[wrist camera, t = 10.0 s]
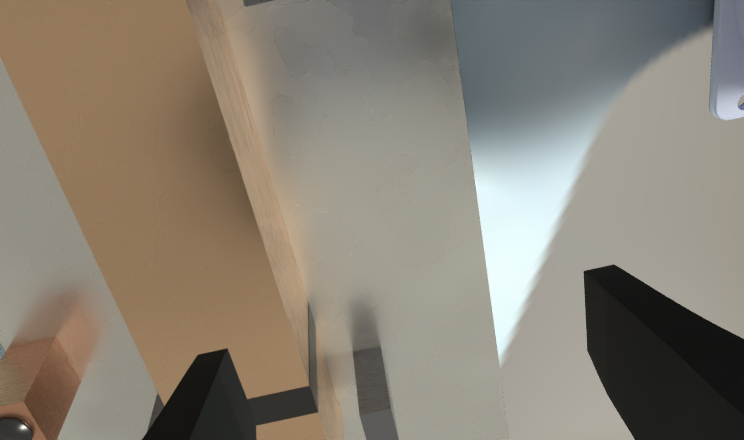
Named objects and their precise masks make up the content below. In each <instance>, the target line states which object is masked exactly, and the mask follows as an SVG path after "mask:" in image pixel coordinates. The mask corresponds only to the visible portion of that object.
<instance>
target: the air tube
mask: <svg viewBox="0 0 744 440" xmlns="http://www.w3.org/2000/svg"><path fill="white" fill-rule="evenodd" d="M0 58H1V60H2V62H3V64H4V66H5V69H6V71H7V73H8V75H9V77H10V79H11V81H12V83H13V86H14V88H15V90H16V92H17V94H18V96H19V98H20V100H21V103H22V105H23V107H24V109H25V111H26V113H27V115H28V117H29V120H30V122H31V124H32V126H33V128H34V130H35V132H36V134H37V137H38V139H39V141H40V143H41V145H42V147H43V149H44V151H45V154H46V156H47V158H48V160H49V162H50V164H51V166H52V168H53V171H54V173H55V175H56V177H57V179H58V181H59V183H60V185H61V188H62V190H63V192H64V194H65V196H66V198H67V200H68V202H69V205H70V207H71V209H72V211H73V213H74V215H75V217H76V219H77V222H78V224H79V226H80V228H81V230H82V232H83V234H84V236H85V239H86V241H87V243H88V245H89V247H90V249H91V251H92V253H93V256H94V258H95V260H96V262H97V264H98V266H99V268H100V270H101V273H102V275H103V277H104V279H105V281H106V283H107V285H108V287H109V290H110V292H111V294H112V296H113V298H114V300H115V302H116V304H117V307H118V309H119V311H120V313H121V315H122V317H123V319H124V321H125V324H126V326H127V328H128V330H129V332H130V334H131V336H132V338H133V341H134V343H135V345H136V347H137V349H138V351H139V353H140V355H141V358H142V360H143V362H144V364H145V366H146V368H147V370H148V372H149V375H150V377H151V379H152V381H153V383H154V385H155V387H156V389H157V392H158V394H159V396H160V398H161V400H162V402H163V404H164V406H165V404H166V403H167V401H168V400H169V398H170V397H171V395H172V393H173V392H174V390H175V389H176V387H177V386H178V384H179V382H180V381H181V379H182V378H183V376H184V375H185V373H186V372H187V370H188V368H189V367H190V365H191V364H192V362H193V361H194V360H195V358H196V357H197V355H199V354H203V353H208V352H212V351H217V350H222V349H226V348H228V351H229V353H230V356H231V359H232V361H233V364H234V366H235V369H236V372H237V374H238V377H239V379H240V382H241V384H242V387H243V390H244V392H245V395H246V397H247V400H248V403H249V405H250V408H251V410H252V413H253V415H254V418H255V421H256V439H257V440H345V437H344V424H343V419H342V415H341V412H340V409H339V405H338V402H337V398H336V395H335V392H334V388H333V385H332V382H331V378H330V375H329V372H328V368H327V365H326V362H325V358H324V355H323V351H322V348H321V345H320V341H319V338H318V335H317V331H316V326H315V322H314V319H313V316H312V312H311V309H310V305H309V302H308V301H307V298H306V294H305V291H304V288H303V284H302V281H301V278H300V274H299V271H298V268H297V264H296V261H295V258H294V254H293V251H292V247H291V244H290V241H289V237H288V234H287V231H286V227H285V224H284V221H283V217H282V214H281V211H280V207H279V204H278V200H277V197H276V194H275V190H274V187H273V184H272V180H271V177H270V174H269V170H268V167H267V164H266V160H265V157H264V153H263V150H262V147H261V143H260V140H259V137H258V133H257V130H256V127H255V123H254V120H253V117H252V113H251V110H250V106H249V103H248V100H247V96H246V93H245V90H244V86H243V83H242V80H241V76H240V73H239V70H238V66H237V63H236V59H235V56H234V53H233V49H232V46H231V43H230V39H229V36H228V33H227V29H226V26H225V23H224V19H223V16H222V12H221V9H220V6H219V2H218V0H0Z"/></svg>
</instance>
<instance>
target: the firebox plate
mask: <svg viewBox="0 0 744 440" xmlns="http://www.w3.org/2000/svg"><path fill="white" fill-rule="evenodd" d="M218 2H219V6H220V9H221V12H222V16H223V19H224V23H225V26H226V29H227V33H228V36H229V39H230V43H231V46H232V49H233V53H234V56H235V59H236V63H237V66H238V70H239V73H240V76H241V80H242V83H243V86H244V90H245V93H246V96H247V100H248V103H249V106H250V110H251V113H252V117H253V120H254V123H255V127H256V130H257V133H258V137H259V140H260V143H261V147H262V150H263V153H264V157H265V160H266V164H267V167H268V170H269V174H270V177H271V180H272V184H273V187H274V190H275V194H276V197H277V200H278V204H279V207H280V211H281V214H282V217H283V221H284V224H285V227H286V231H287V234H288V237H289V241H290V244H291V247H292V251H293V254H294V258H295V261H296V264H297V268H298V271H299V274H300V278H301V281H302V284H303V288H304V291H305V294H306V298H307V301H308V302H309V305H310V309H311V312H312V316H313V319H314V322H315V326H316V331H317V335H318V338H319V341H320V345H321V348H322V351H323V355H324V358H325V362H326V365H327V368H328V372H329V375H330V378H331V382H332V385H333V388H334V392H335V395H336V398H337V402H338V405H339V409H340V412H341V415H342V419H343V424H344V437H345V440H501V439H506V438H509V435H508V427H507V420H506V413H505V405H504V397H503V390H502V383H501V375H500V367H499V360H498V352H497V345H496V337H495V330H494V322H493V315H492V307H491V300H490V292H489V285H488V277H487V270H486V262H485V255H484V247H483V240H482V232H481V225H480V217H479V210H478V202H477V195H476V187H475V180H474V172H473V165H472V157H471V150H470V142H469V135H468V127H467V120H466V112H465V105H464V97H463V90H462V82H461V75H460V67H459V60H458V52H457V45H456V37H455V30H454V22H453V15H452V7H451V0H218ZM0 344H1V346H2V347H3V349H4V351H5V354H4V356H3V357H2V359H1V361H0V440H57V439H58V440H142V439H143V437H144V436H145V434H146V433H147V431H148V430H149V428H150V427H151V425H152V424H153V422H154V421H155V419H156V418H157V416H158V415H159V413H160V412H161V410H162V409H163V407H164V404H163V402H162V400H161V398H160V396H159V394H158V392H157V389H156V387H155V385H154V383H153V381H152V379H151V377H150V375H149V372H148V370H147V368H146V366H145V364H144V362H143V360H142V358H141V355H140V353H139V351H138V349H137V347H136V345H135V343H134V341H133V338H132V336H131V334H130V332H129V330H128V328H127V326H126V324H125V321H124V319H123V317H122V315H121V313H120V311H119V309H118V307H117V304H116V302H115V300H114V298H113V296H112V294H111V292H110V290H109V287H108V285H107V283H106V281H105V279H104V277H103V275H102V273H101V270H100V268H99V266H98V264H97V262H96V260H95V258H94V256H93V253H92V251H91V249H90V247H89V245H88V243H87V241H86V239H85V236H84V234H83V232H82V230H81V228H80V226H79V224H78V222H77V219H76V217H75V215H74V213H73V211H72V209H71V207H70V205H69V202H68V200H67V198H66V196H65V194H64V192H63V190H62V188H61V185H60V183H59V181H58V179H57V177H56V175H55V173H54V171H53V168H52V166H51V164H50V162H49V160H48V158H47V156H46V154H45V151H44V149H43V147H42V145H41V143H40V141H39V139H38V137H37V134H36V132H35V130H34V128H33V126H32V124H31V122H30V120H29V117H28V115H27V113H26V111H25V109H24V107H23V105H22V103H21V100H20V98H19V96H18V94H17V92H16V90H15V88H14V86H13V83H12V81H11V79H10V77H9V75H8V73H7V71H6V69H5V66H4V64H3V62H2V60H1V58H0Z"/></svg>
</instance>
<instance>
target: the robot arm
mask: <svg viewBox="0 0 744 440" xmlns="http://www.w3.org/2000/svg"><path fill="white" fill-rule="evenodd" d="M712 43H713V44H712V61H711V79H710V100H709V108H710V112H711V113H712V114H713V115H714V116H716V117H717V118H719V119H721V120H731V119H736V118H740V117H744V103H743V104H742V105H741V106H738V102H739V100H740V99H741V97H742V96H744V0H715V5H714V23H713V42H712ZM584 287H585V308H586V329H587V350H588V353H589V355H590V357H591V359H592V361H593V364H594V366H595V369H596V370H597V373H598V375H599V378H600V379H601V382H602V384H603V386H604V388H605V390H606V392H607V395H608V396H609V398H610V399H611V401H612V403H613V405H614V406H615V408H616V409H617V411H618V412H619V414H620V416H621V418H622V419H623V421H624V422H625V424H626V426H627V427H628V429H629V430H630V432H631V433H632V435H633V437H634V439H635V440H744V339H742V338H740V337H739V336H737V335H735V334H733V333H731V332H729V331H727V330H725V329H723V328H721V327H719V326H717V325H715V324H713V323H712V322H710V321H708V320H706V319H704V318H702V317H701V316H699V315H697V314H695V313H693V312H691V311H690V310H688V309H686V308H685V307H683V306H681V305H680V304H678V303H676V302H674V301H673V300H671V299H670V298H668V297H666V296H665V295H663V294H661V293H660V292H658V291H656V290H655V289H653V288H652V287H650V286H648V285H647V284H645V283H644V282H642V281H640V280H639V279H637V278H635V277H634V276H632V275H630V274H629V273H627V272H626V271H624V270H623V269H621V268H619V267H617V266H616V265H610V266H605V267H601V268H596V269H591V270H587V271H584ZM142 440H257V439H256V421H255V418H254V415H253V413H252V410H251V408H250V405H249V403H248V400H247V397H246V395H245V392H244V390H243V387H242V384H241V382H240V379H239V377H238V374H237V372H236V369H235V366H234V364H233V361H232V359H231V356H230V353H229V351H228V348H226V349H222V350H217V351H212V352H208V353H203V354H199V355H197V357H196V358H195V360H194V361H193V362H192V364H191V365H190V367H189V368H188V370H187V372H186V373H185V375H184V376H183V378H182V379H181V381H180V382H179V384H178V386H177V387H176V389H175V390H174V392H173V393H172V395H171V397H170V398H169V400H168V401H167V403H166V404H165V406H164V407H163V409H162V410H161V412H160V413H159V415H158V416H157V418H156V419H155V421H154V422H153V424H152V425H151V427H150V428H149V430H148V431H147V433H146V434H145V436H144V437H143V439H142Z"/></svg>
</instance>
